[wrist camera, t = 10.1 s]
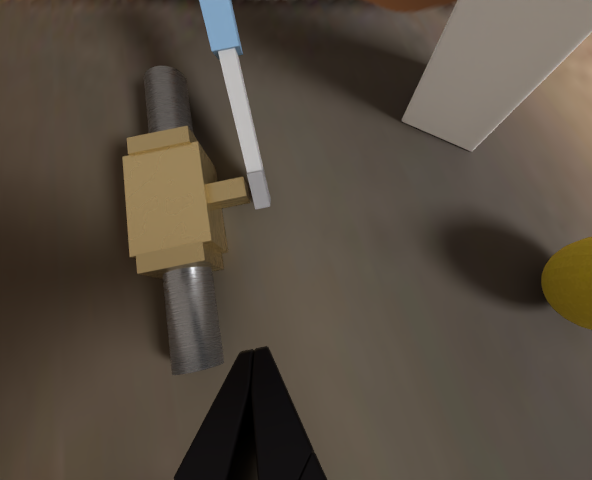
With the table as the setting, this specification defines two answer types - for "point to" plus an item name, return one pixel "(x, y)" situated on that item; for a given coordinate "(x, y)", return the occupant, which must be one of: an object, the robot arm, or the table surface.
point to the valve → (178, 219)
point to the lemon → (570, 282)
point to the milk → (493, 63)
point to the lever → (236, 90)
